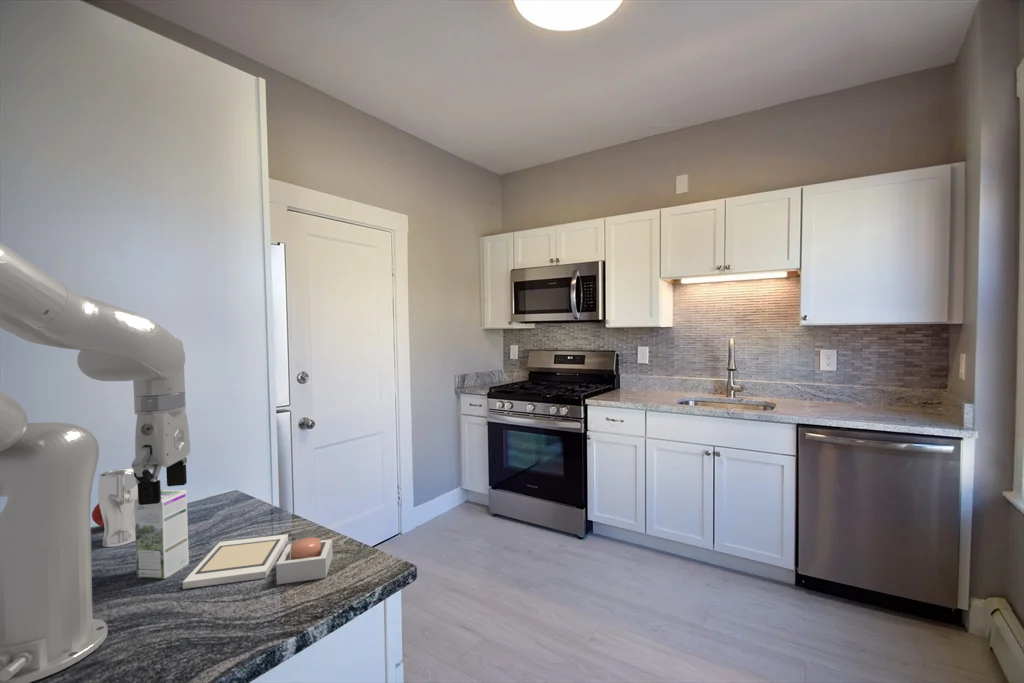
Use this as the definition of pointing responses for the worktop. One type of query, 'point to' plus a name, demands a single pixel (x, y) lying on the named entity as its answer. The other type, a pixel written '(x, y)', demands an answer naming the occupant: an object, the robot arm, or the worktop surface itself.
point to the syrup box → (162, 535)
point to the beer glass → (118, 506)
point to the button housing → (304, 565)
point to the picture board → (237, 561)
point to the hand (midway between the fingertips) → (164, 493)
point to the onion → (97, 516)
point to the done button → (306, 548)
